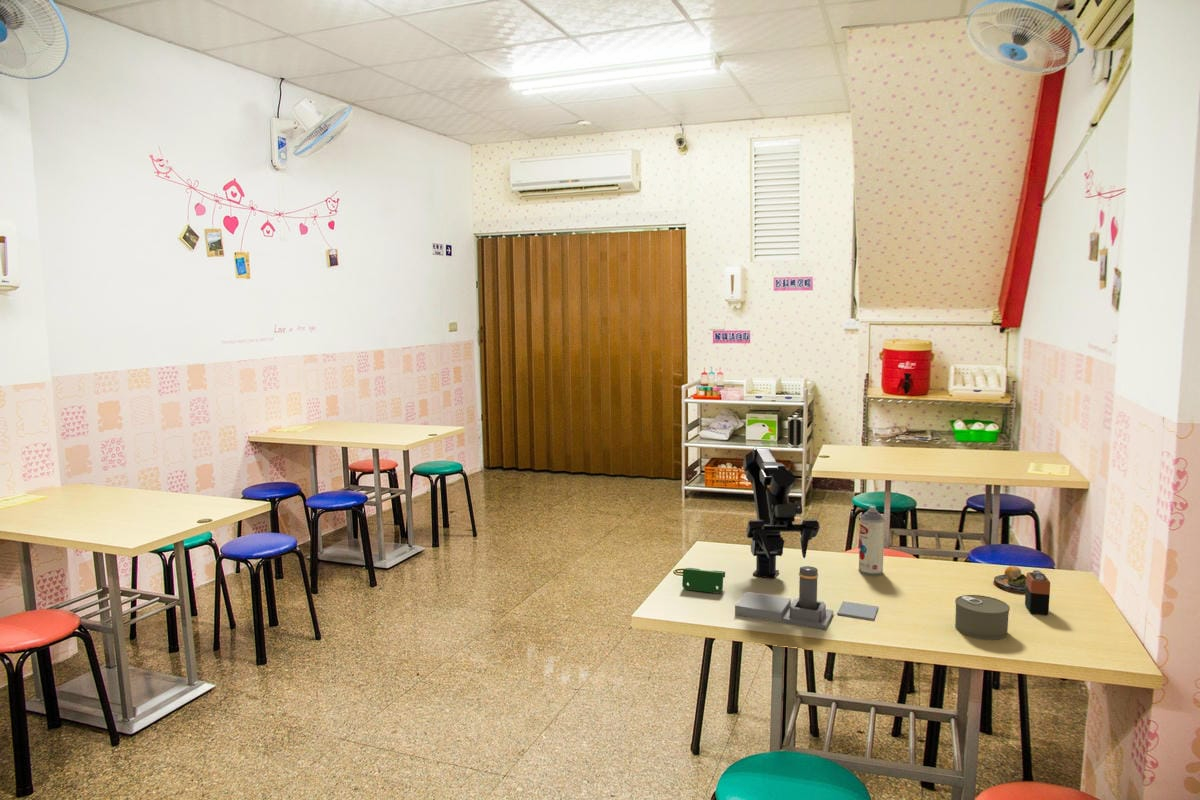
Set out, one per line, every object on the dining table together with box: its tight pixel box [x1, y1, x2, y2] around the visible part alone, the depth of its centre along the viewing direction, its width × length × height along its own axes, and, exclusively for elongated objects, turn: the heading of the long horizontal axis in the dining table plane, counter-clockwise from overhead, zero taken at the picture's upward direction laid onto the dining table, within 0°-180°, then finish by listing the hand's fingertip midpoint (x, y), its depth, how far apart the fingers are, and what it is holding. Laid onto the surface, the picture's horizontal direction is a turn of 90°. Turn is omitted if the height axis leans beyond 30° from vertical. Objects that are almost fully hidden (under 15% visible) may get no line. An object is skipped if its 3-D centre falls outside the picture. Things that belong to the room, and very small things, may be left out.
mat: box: [836, 601, 879, 621], centre depth 207 cm, size 9×9×1 cm
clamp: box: [681, 567, 726, 594], centre depth 224 cm, size 12×6×9 cm, turn 64°
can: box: [954, 594, 1011, 641], centre depth 194 cm, size 12×12×7 cm
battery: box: [1024, 569, 1051, 616], centre depth 206 cm, size 4×7×10 cm, turn 163°
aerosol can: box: [858, 505, 885, 577], centre depth 236 cm, size 7×7×20 cm
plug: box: [798, 565, 819, 610], centre depth 202 cm, size 5×5×13 cm
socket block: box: [734, 591, 834, 630], centre depth 205 cm, size 11×23×4 cm, turn 64°
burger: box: [993, 564, 1026, 595], centre depth 224 cm, size 12×12×8 cm
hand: (787, 557), depth 208 cm, fingers open, 9 cm apart
